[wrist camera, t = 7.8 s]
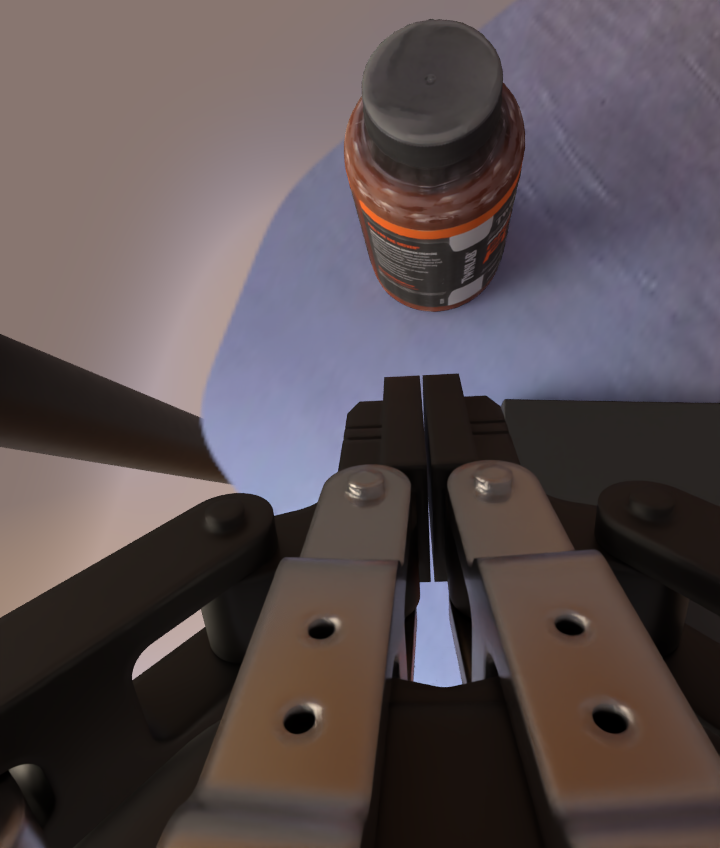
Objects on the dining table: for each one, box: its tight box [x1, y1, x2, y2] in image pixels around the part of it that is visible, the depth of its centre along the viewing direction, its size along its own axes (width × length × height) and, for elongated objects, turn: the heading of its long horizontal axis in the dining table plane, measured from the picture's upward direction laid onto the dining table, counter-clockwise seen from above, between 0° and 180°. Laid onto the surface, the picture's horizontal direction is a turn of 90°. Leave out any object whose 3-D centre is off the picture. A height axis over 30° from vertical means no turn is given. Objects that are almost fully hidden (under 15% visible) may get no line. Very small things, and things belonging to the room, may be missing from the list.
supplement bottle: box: [344, 19, 525, 312], centre depth 23 cm, size 6×6×11 cm
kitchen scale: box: [501, 399, 720, 644], centre depth 23 cm, size 14×13×3 cm
